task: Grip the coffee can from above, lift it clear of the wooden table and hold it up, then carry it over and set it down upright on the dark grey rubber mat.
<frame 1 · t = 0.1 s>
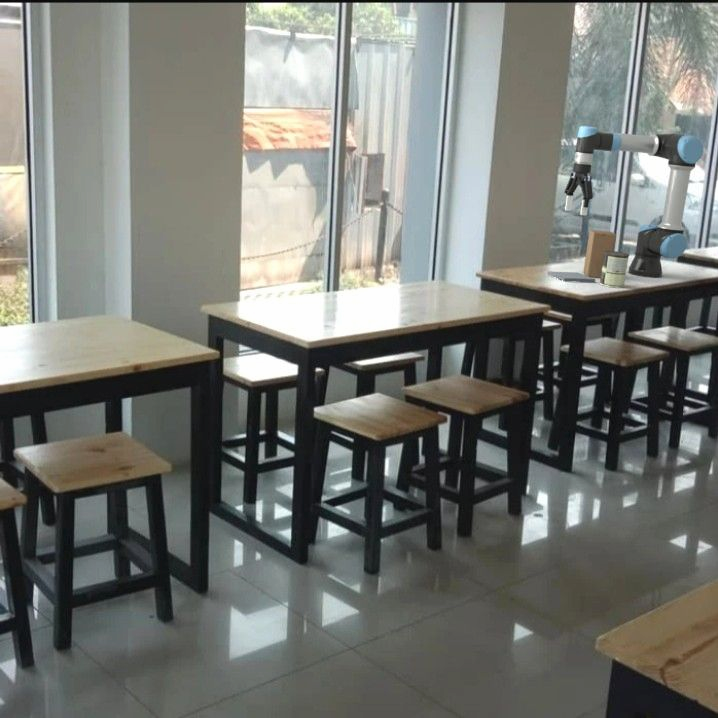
hand: (575, 212, 449), 28 cm above the table, tool pointing down, fingers open, 13 cm apart
grey mat: (570, 278, 452), on the table
coffee can: (611, 286, 444), on the table
wooden block: (596, 276, 465), on the table
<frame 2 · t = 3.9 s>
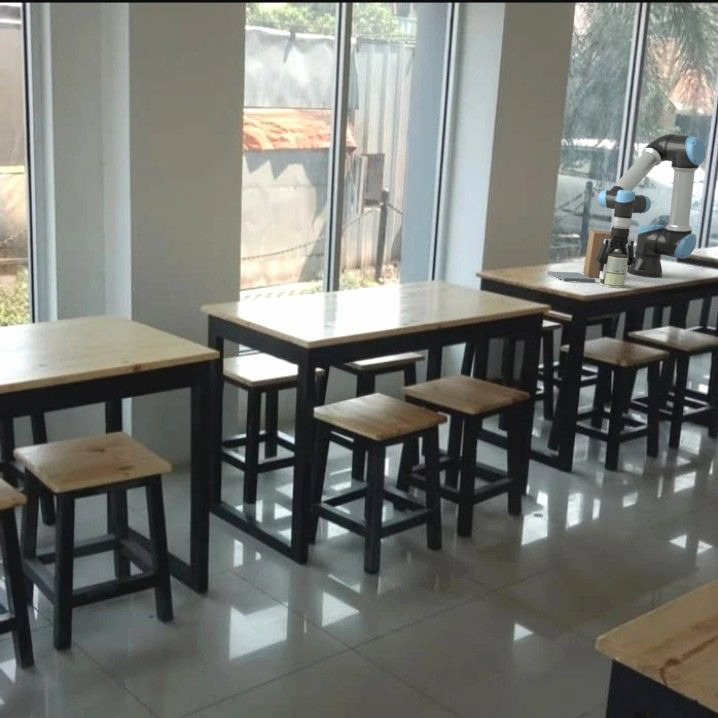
hand: (612, 279, 443), 3 cm above the table, tool pointing down, fingers closed on coffee can, 10 cm apart
coffee can: (611, 286, 444), on the table, touching gripper
everything else where it was.
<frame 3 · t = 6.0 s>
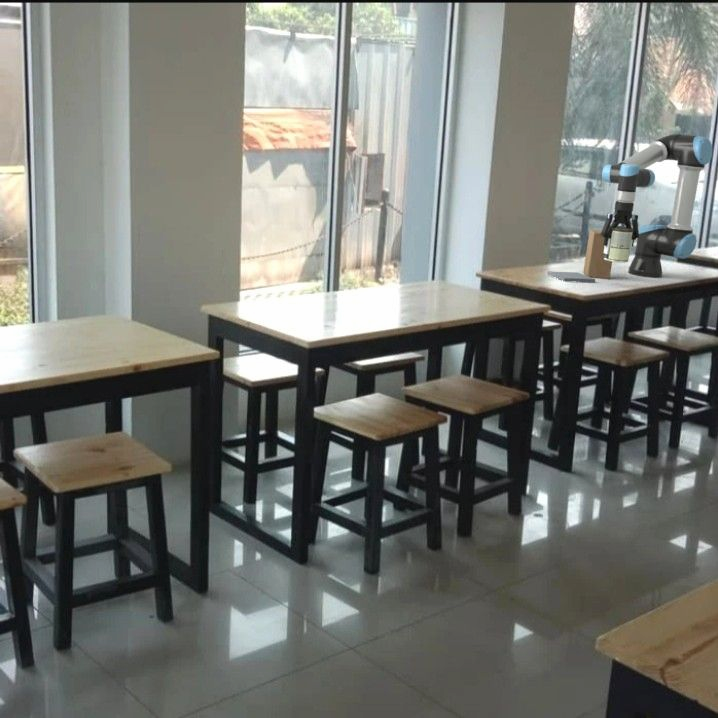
hand: (617, 253, 441), 14 cm above the table, tool pointing down, fingers closed on coffee can, 10 cm apart
coffee can: (615, 260, 442), point 11 cm above the table, touching gripper
everything else where it was.
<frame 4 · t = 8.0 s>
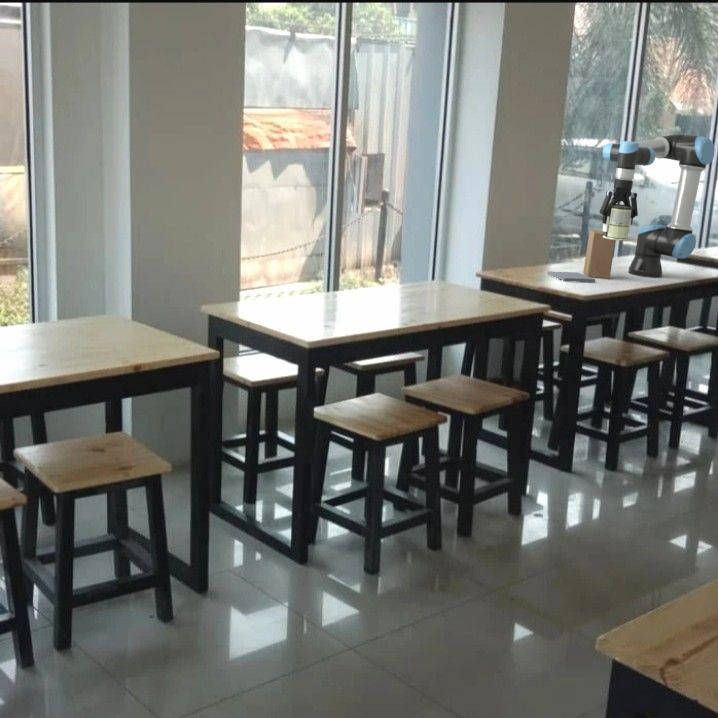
hand: (615, 232, 439), 23 cm above the table, tool pointing down, fingers closed on coffee can, 10 cm apart
coffee can: (614, 239, 440), point 20 cm above the table, touching gripper
everything else where it was.
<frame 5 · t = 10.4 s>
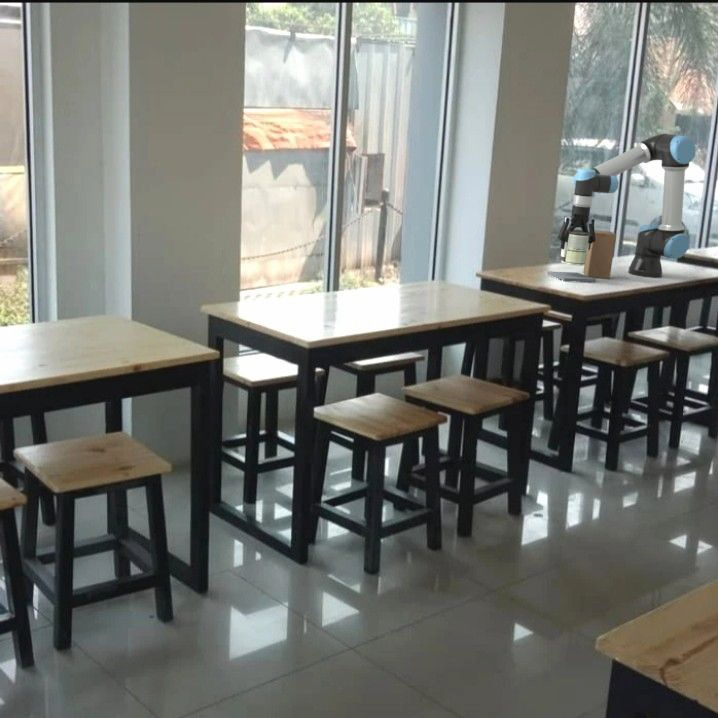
hand: (573, 257, 449), 9 cm above the table, tool pointing down, fingers closed on coffee can, 10 cm apart
coffee can: (572, 263, 450), point 6 cm above the table, touching gripper
everything else where it was.
when the fingers open (6 cm above the table, at t = 12.1 s): coffee can drops 1 cm, resting on grey mat.
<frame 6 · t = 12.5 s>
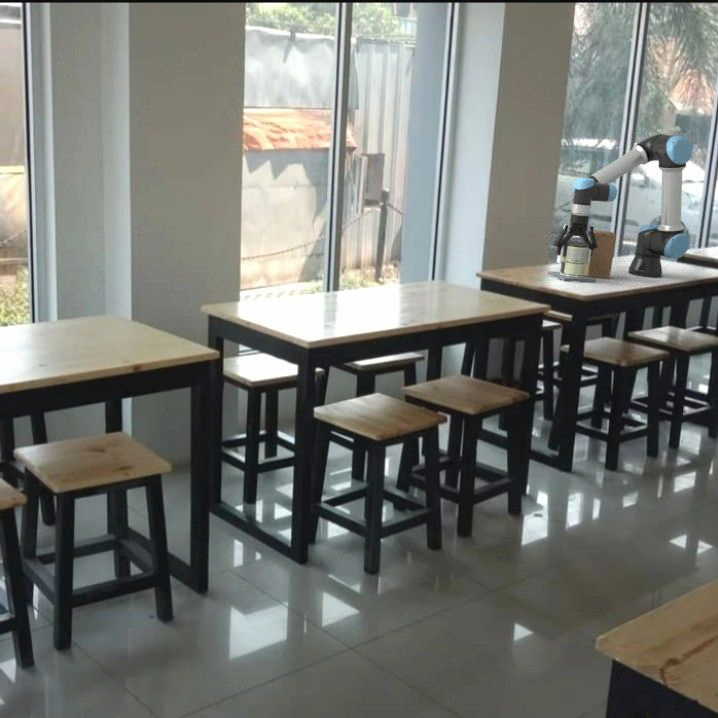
hand: (573, 263, 450), 7 cm above the table, tool pointing down, fingers open, 13 cm apart
coffee can: (571, 275, 451), point 1 cm above the table, touching grey mat
everything else where it was.
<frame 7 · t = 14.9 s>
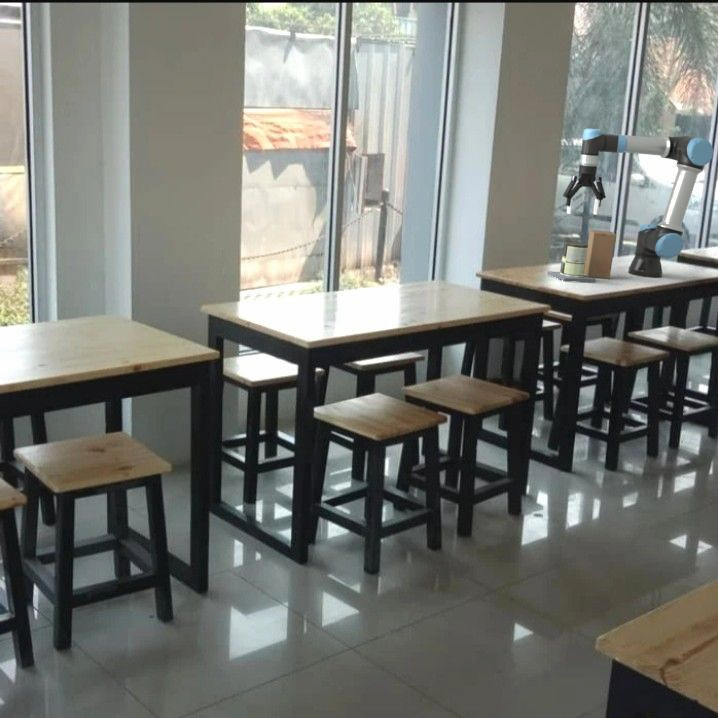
hand: (582, 214, 456), 27 cm above the table, tool pointing down, fingers open, 13 cm apart
nothing on the table moved.
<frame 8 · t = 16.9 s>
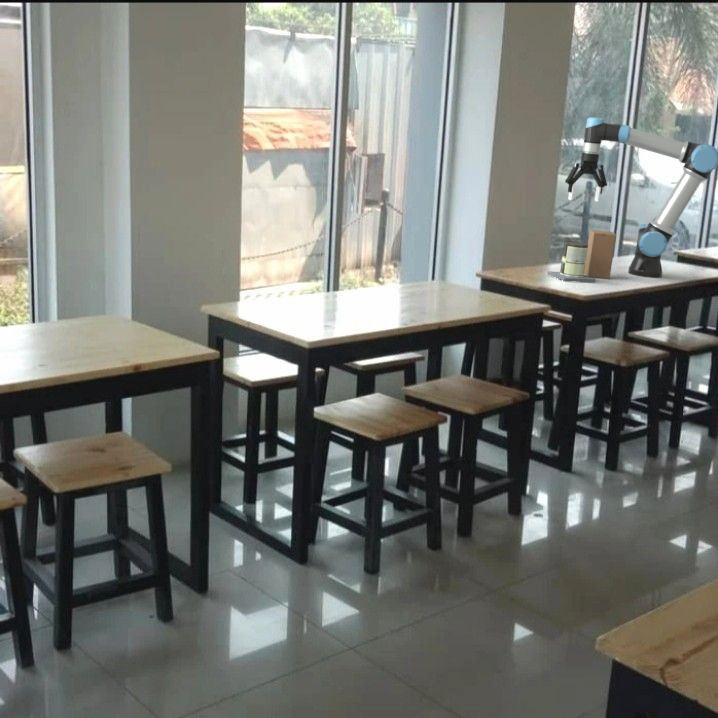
hand: (583, 200, 469), 32 cm above the table, tool pointing down, fingers open, 13 cm apart
nothing on the table moved.
at the end: coffee can inside the target area on the grey mat (0.1 cm from its centre), point 1.3 cm above the grey mat's base; coffee can tilted 0°; the gripper is holding nothing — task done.
